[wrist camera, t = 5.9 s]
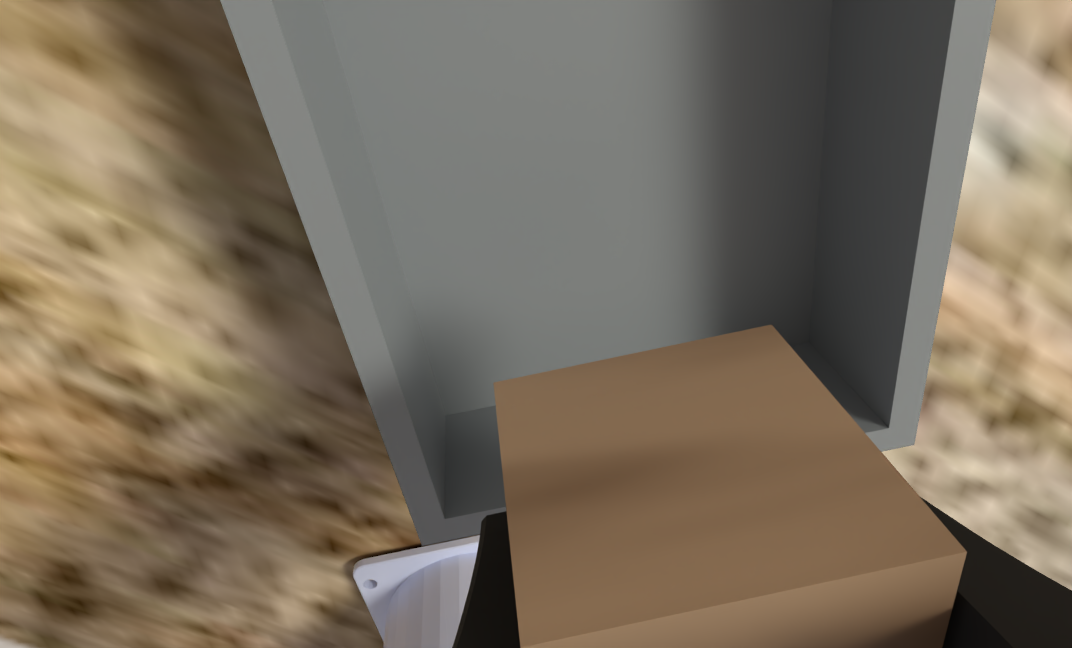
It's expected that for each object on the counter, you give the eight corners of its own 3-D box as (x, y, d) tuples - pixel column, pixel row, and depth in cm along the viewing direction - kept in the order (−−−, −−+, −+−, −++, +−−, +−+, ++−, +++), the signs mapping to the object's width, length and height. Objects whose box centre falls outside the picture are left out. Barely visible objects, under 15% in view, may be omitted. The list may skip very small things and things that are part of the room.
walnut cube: (767, 520, 14) (909, 774, 10) (540, 568, 14) (581, 846, 10) (771, 324, 11) (966, 551, 7) (493, 382, 11) (520, 647, 7)
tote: (822, 347, 22) (913, 444, 18) (427, 427, 22) (422, 546, 17) (881, -381, 13) (1096, -545, 9) (207, -260, 13) (84, -367, 8)
